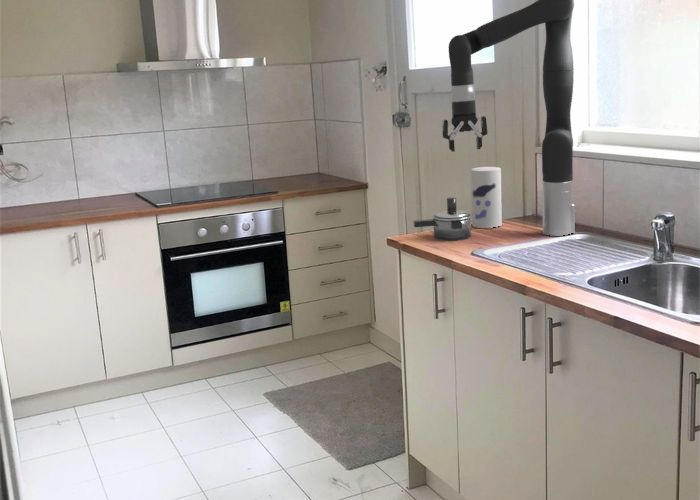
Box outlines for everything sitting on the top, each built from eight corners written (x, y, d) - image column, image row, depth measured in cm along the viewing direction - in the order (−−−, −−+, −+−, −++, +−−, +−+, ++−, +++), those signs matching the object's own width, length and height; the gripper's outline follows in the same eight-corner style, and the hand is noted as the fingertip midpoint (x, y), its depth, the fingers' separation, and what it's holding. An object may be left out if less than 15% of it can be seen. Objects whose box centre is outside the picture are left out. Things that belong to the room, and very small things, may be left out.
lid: (464, 211, 260) (463, 194, 259) (471, 217, 250) (470, 199, 249) (433, 214, 260) (432, 196, 258) (439, 219, 249) (438, 202, 248)
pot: (466, 231, 263) (466, 211, 261) (476, 240, 249) (476, 218, 247) (411, 235, 262) (410, 215, 260) (419, 244, 248) (418, 223, 246)
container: (472, 229, 266) (470, 170, 262) (472, 223, 276) (471, 166, 271) (502, 228, 264) (501, 169, 260) (501, 222, 274) (500, 165, 269)
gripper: (482, 97, 253) (484, 147, 257) (438, 101, 252) (441, 151, 256) (488, 98, 246) (490, 149, 250) (443, 101, 245) (446, 153, 249)
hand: (465, 150), depth 253 cm, fingers open, 8 cm apart
